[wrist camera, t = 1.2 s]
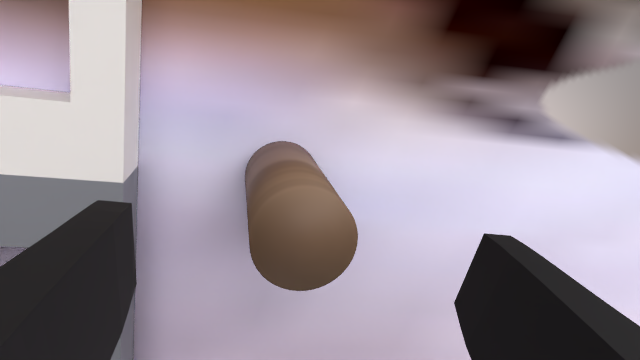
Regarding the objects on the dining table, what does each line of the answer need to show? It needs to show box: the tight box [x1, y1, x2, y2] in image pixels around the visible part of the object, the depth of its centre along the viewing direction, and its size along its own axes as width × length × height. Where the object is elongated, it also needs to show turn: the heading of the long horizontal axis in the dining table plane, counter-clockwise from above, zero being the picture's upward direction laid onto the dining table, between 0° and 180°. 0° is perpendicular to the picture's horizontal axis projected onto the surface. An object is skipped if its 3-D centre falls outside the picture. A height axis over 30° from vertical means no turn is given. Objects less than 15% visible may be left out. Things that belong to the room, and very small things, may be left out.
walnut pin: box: [245, 141, 358, 291], centre depth 16 cm, size 3×3×7 cm
